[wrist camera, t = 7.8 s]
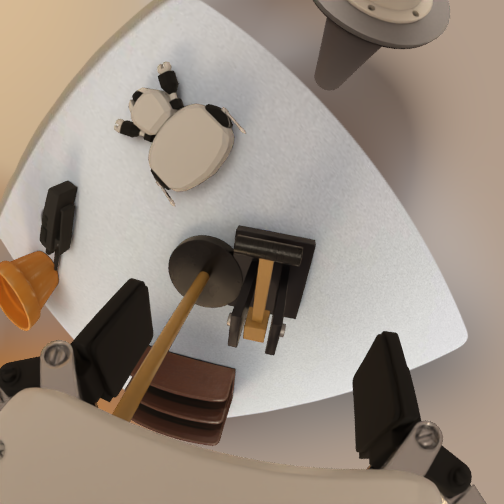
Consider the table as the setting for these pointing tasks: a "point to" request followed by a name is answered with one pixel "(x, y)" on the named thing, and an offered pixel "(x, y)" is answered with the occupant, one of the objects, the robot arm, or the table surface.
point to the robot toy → (179, 134)
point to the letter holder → (186, 399)
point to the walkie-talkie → (58, 219)
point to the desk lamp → (187, 303)
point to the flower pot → (26, 287)
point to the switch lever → (263, 278)
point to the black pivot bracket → (280, 290)
